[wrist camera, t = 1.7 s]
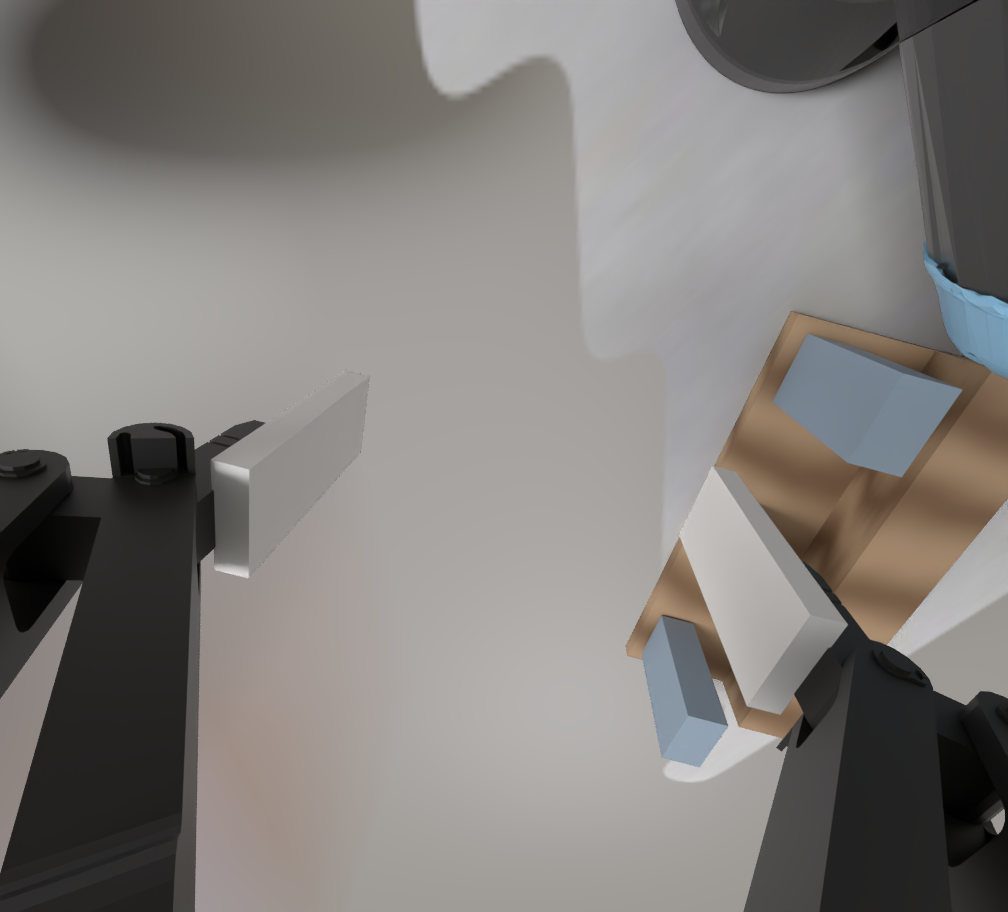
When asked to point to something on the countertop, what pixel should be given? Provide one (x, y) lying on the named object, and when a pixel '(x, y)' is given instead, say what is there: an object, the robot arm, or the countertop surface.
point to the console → (853, 502)
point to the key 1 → (682, 693)
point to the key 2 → (863, 404)
